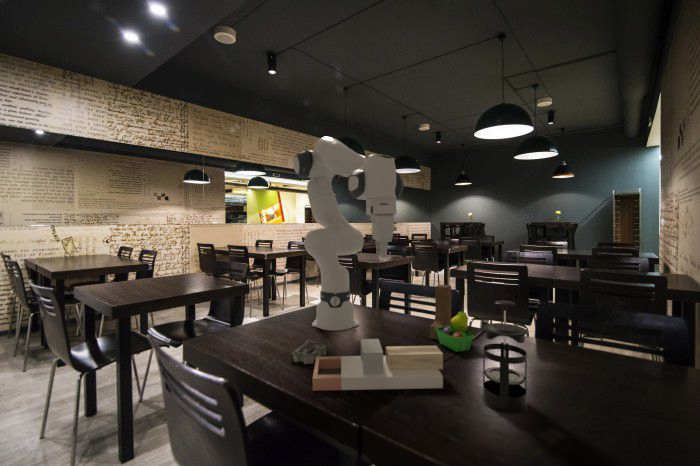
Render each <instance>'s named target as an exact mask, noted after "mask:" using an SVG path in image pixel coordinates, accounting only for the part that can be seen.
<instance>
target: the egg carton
mask: <svg viewBox="0 0 700 466" xmlns="http://www.w3.org/2000/svg"><path fill="white" fill-rule="evenodd" d="M326 347H327V345H325V344H322V343H319V345H317V342H316V341H314V340H311V338H308V339H307V340H306V341H304V342H303V344H301V345H300V346H299V347H298V348H296V349H295V350H294V351H293V352H291V354H292V355H293V361H294V362H295V363H298V362H303V364H304V365H308V364H315V362H314V361H316V357H323V356H326V354H327V353H326Z"/></svg>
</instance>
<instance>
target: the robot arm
mask: <svg viewBox="0 0 700 466" xmlns="http://www.w3.org/2000/svg"><path fill="white" fill-rule="evenodd" d="M314 146H315V147H314V150H309V149H305V150H304V151H300V152H298V153H297V154H295V156H294V159H293V169H294V172H295V173H294V174H296V176H297V177H298V178H302V179H308V178H310V179H309V180H308V181H307V183H306V187H307V188H306V189H307V197H308V202H309V206H310V210H311V212H312V216H313V219H314V221H315V222H316V223H317V224H319V225H321V226H322V227H324V228H322V227H321V228H315V229H313V230H310V231H308V232H307V233H306V235H305V238H304V241H303V242H304V248H305V251H306V252H307V253H308V254H309V255H310V256H311V257H312V258H313V259H314V260H315V262H316V263H317V265H318V268H319V271H320V281H321V283H320V284H321V285H320V287H321V290H320V293H319V296H320V302H319V303H317V305H316V308H315V309H316V314H315V315H316V318H315V320H314V321H313V322H312V323H311V327H313V328H314V327H315V328H318V329H321V330H324V331H345V330H348V329H351V328H355V327H359V326H360V322H359V321H358V320H357V319H356V318H355V305H354V304H353V303H352V301H351V290H350V272H349V270H348V269H347V268H346V266H343V265H342V264H340V262H339V257H338V256H350V255H354V254H356V253H359V252H361V251H362V249H363V247H364V243H365V241H364V236H363V233H362V232H361V231H360V230H358V229H356V228H355V227H354V226H353V225H351V224H350V222H349V221H348V220H347V219H346V218H345V216H344V215H343V214H342V212H341V210H340V207H339V203H338V200H337V199H336V195H335V194H336V193H335V192H334V190H333V187H332V186H333V185H332V181H334V182H336V181H338V180H339V179H340V177H342V176H347V191H348V193H349V194H350V196H351V197H352V198H353V199H356V200H360V201H361V200H363V201H364V200H365V206H366V207H365V209H366V210H365V214H366V216H370V221H371V222H372V223H371V226H372V227H371V231H372V232H371V237H372V238H371V239H372V240H375V248H376V255H377V256H379V257H380V258H381V259H386V258H388V248H389V247H388V246H389V243H392V241H393V238H394V230H395V229H394V227H395V216H396V215H397V200H398V199H399V198H400V196H401V195H402V193H403V191H404V187H405V185H404V181H403V178H402V176H401V175H400V173H399V172H397V167H396V163H395V159H394V157H393V156H391V155H388V154H378V153H372V154H369V155H368V156H367V158H366V157H365V156H362V155H361V154H360V153H358V152H356V151H354V150H353V149H351V148H349V146H347V145H346V144H345V143H343V142H341V141H340V140H338V139H336V138H334V137H331V136H323V137H321V138H320V139H318V140H317V142H316V143H315V145H314Z"/></svg>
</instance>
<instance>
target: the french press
mask: <svg viewBox="0 0 700 466" xmlns="http://www.w3.org/2000/svg"><path fill="white" fill-rule="evenodd" d="M494 304H495V305H498V306H502V311H503V323H500V322H499V323H497V322H496V323H495V322H494V323H493V322H492V323H491V322H490V323H486V324H484V325H483V330H484V331H485V338H486V339H488V340H493V339H495V338H497V337H501V336H503V342H500V343H488V344H485V345H484V346H483V347H482V350H483V351H482V352H483V359H482V360H483V362H482V366H483V367H482V371H483V372H482V377H483V378H482V383H483V384H482V396H481V400H482V403H483V404H484V405H485V406H487V407H488V408H490V409H491V410H494V411H497V412H499V413H504V414H510V415H512V414H513V415H514V414H515V415H516V414H517V415H518V414H522V413H525V412H526V411H527V410H528V407H529V406H528V403H527V399H528V398H527V392H528V391H527V390H528V389H527V387H528V384H527V380H528V379H527V378H528V377H527V373H528V372H527V371H528V368H527V367H528V366H527V365H528V364H527V363H528V352H527V351H526V350H525V349H524V348H522V347H519V346H516V345H513V344H510V343H508V342H506V341H507V340H506V337H508V338H511V339H513V340H514V341H515V342H517V343H518V344H523V343H525V341H526V340H525V339H526V335H527V334H528V330H527V329H525V328H524V327H521V326H519V325H516V324H510V323H507V320H506V319H507V315H506V313H507V311H508V307H512V306H515V305H516V303H515V302H513V301H510V300H496V301H495V302H494ZM490 350H500V355H497V354H494V353H491V352H489V351H490ZM510 352H514V353H517V354H520V355H521V356H518V357H510ZM485 359H488V360H491V361H494V362H497V363H499V366H495V367H494V366H491V367H488V368H486V367H485V366H486V365H485V364H486V360H485ZM523 363H524V368H525V370H524V374H523V373H522V372H520V371H519V370H518V371H517V370H515V369H511V368H510V365H516V364H517V365H518V364H523ZM485 368H486V369H485ZM485 377H486V379H488V380H485ZM523 384H524V387H523V386H522V385H523Z"/></svg>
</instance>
